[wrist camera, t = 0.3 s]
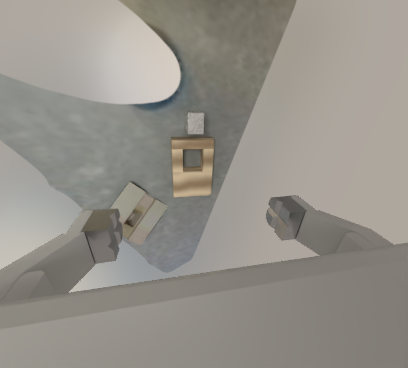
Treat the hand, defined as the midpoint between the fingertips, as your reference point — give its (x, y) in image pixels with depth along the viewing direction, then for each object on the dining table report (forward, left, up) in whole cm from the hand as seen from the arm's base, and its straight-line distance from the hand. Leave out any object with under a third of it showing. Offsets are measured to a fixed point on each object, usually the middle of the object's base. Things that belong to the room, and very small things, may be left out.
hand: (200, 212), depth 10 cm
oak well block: (+15, +6, -46) cm, 48 cm away
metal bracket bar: (+1, +6, -46) cm, 46 cm away
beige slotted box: (+29, -12, -46) cm, 56 cm away
